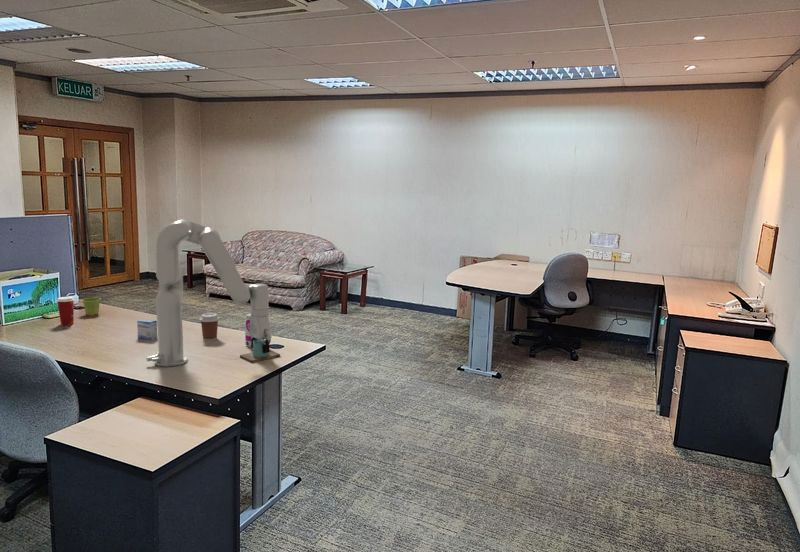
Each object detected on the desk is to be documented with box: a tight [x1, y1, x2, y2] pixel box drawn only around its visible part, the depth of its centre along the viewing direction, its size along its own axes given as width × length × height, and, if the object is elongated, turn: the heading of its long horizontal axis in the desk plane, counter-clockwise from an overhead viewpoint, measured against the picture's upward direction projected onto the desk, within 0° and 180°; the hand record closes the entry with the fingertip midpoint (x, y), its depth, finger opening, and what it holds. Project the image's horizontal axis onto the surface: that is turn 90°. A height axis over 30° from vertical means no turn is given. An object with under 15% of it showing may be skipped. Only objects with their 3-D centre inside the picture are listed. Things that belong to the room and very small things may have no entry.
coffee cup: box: [199, 312, 220, 342], centre depth 260 cm, size 9×9×12 cm
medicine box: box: [136, 318, 158, 340], centre depth 259 cm, size 8×4×9 cm, turn 76°
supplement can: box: [244, 312, 262, 348], centre depth 252 cm, size 8×8×15 cm
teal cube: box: [252, 339, 267, 357], centre depth 236 cm, size 6×6×6 cm
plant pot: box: [81, 297, 102, 316], centre depth 301 cm, size 9×9×9 cm
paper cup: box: [56, 296, 75, 326], centre depth 279 cm, size 8×8×14 cm
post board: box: [239, 349, 281, 364], centre depth 236 cm, size 14×10×6 cm
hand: (260, 350), depth 236 cm, fingers open, 9 cm apart
